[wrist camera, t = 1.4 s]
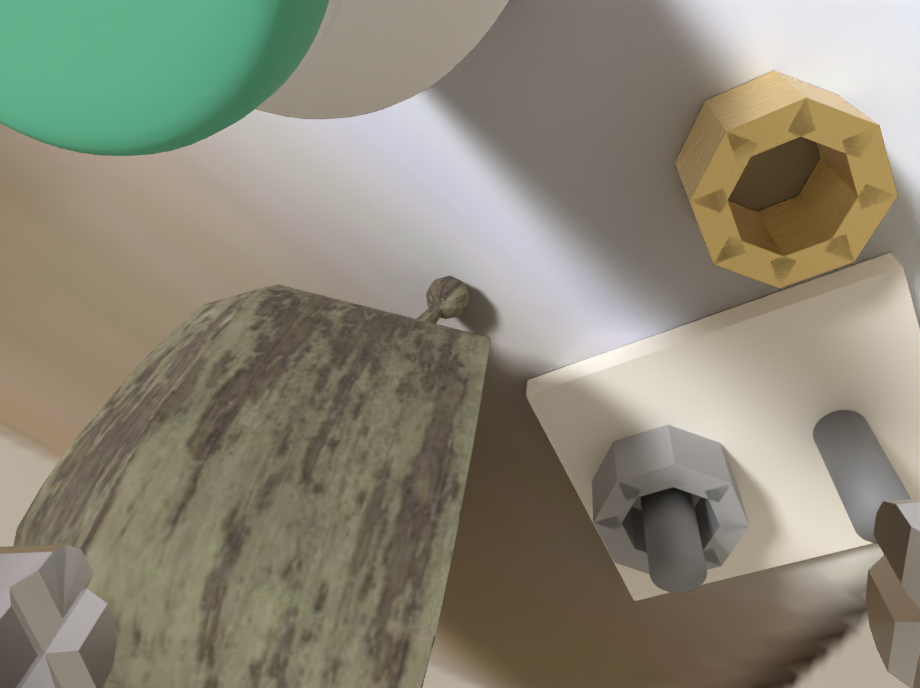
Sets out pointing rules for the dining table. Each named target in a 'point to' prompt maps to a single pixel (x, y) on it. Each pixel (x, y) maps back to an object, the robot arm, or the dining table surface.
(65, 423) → the dining table surface
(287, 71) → the milk bottle
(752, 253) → the brass gear
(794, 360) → the gear board
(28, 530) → the tabletop clock
